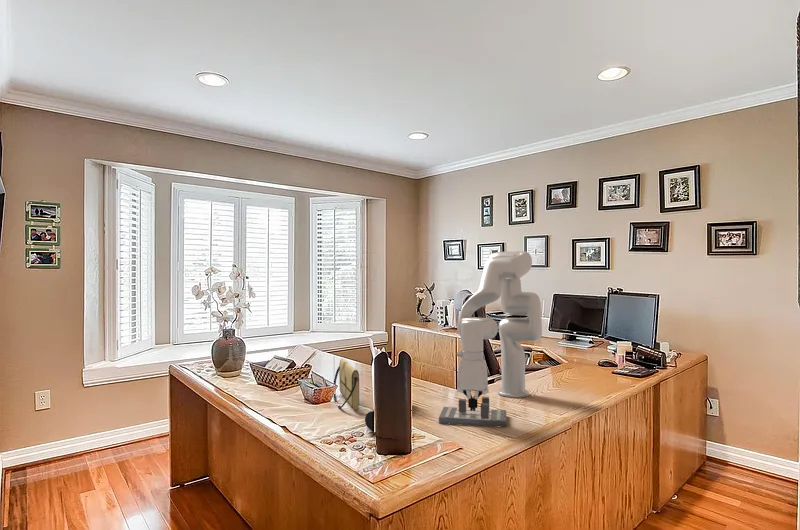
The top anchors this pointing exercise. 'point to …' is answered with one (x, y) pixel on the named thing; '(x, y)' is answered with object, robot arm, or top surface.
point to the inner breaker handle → (485, 400)
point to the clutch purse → (348, 384)
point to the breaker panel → (473, 417)
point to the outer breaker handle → (484, 410)
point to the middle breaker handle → (462, 405)
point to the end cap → (370, 420)
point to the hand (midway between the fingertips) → (472, 409)
